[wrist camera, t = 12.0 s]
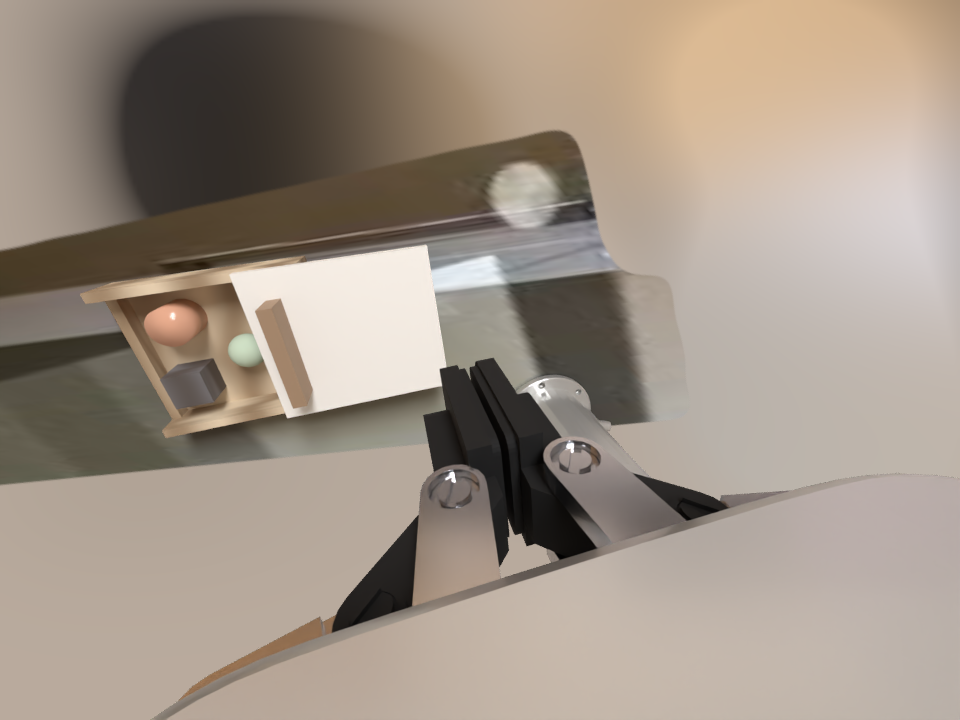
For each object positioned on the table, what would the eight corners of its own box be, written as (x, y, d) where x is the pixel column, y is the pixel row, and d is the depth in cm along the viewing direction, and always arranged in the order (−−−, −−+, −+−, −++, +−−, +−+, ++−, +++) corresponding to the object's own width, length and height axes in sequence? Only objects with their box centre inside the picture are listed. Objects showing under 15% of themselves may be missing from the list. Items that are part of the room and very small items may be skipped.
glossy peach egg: (208, 303, 34) (192, 313, 31) (207, 337, 35) (192, 349, 32) (163, 294, 33) (143, 304, 30) (164, 330, 34) (144, 342, 31)
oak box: (304, 255, 35) (296, 263, 31) (344, 383, 41) (340, 401, 37) (112, 282, 32) (79, 294, 29) (185, 415, 38) (166, 438, 35)
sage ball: (272, 332, 36) (263, 344, 34) (270, 361, 37) (261, 375, 35) (235, 325, 35) (223, 337, 33) (233, 355, 36) (221, 369, 34)
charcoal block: (213, 358, 36) (199, 372, 33) (226, 386, 37) (214, 402, 35) (177, 364, 36) (159, 379, 33) (192, 392, 37) (176, 409, 34)
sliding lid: (425, 245, 33) (430, 251, 30) (447, 380, 39) (454, 398, 36) (232, 272, 30) (214, 283, 27) (289, 413, 36) (279, 436, 33)
